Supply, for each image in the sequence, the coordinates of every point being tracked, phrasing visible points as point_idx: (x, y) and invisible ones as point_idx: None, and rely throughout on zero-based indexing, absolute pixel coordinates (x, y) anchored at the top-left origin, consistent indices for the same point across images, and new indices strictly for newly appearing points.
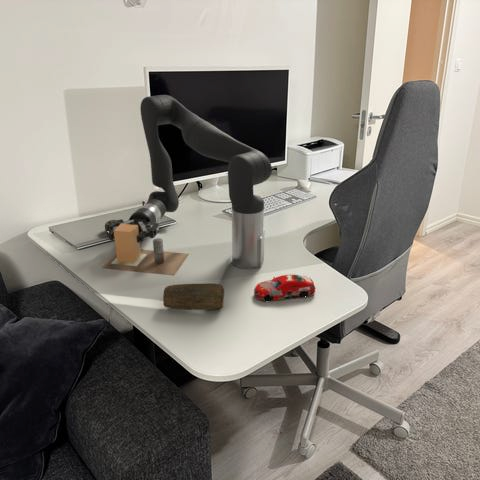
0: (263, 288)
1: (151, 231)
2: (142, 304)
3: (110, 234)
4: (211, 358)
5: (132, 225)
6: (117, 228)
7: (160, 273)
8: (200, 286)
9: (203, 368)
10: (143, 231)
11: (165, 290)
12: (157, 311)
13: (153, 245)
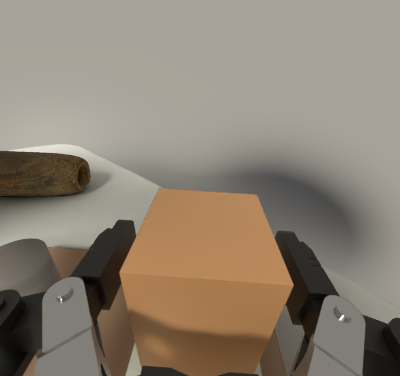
0: None
1: (9, 292)
2: (126, 192)
3: (283, 231)
4: (59, 150)
5: (171, 262)
6: (255, 212)
7: (74, 251)
8: (12, 151)
9: (71, 146)
10: (82, 281)
11: (79, 157)
12: (103, 184)
13: (54, 263)
